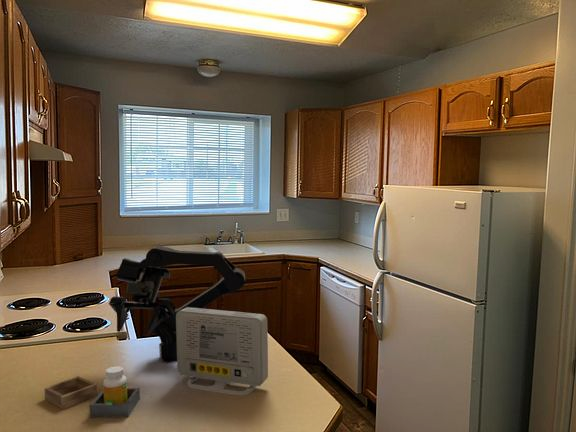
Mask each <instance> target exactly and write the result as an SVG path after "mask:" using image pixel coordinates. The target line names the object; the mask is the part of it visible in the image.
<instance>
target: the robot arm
mask: <svg viewBox="0 0 576 432" xmlns="http://www.w3.org/2000/svg"><path fill="white" fill-rule="evenodd" d="M171 265H172V266H173V265H192V266H193V265H195V266H197V265H198V266H212V267H213V266H214V267H215V268H216V270H217V271H218V273H219V274H220V275H221V278H220V280H219V281H218V282H217V283H215V285H212V286H211V287H210V288H209V289H207V290H205V291H203V292H202V293H201V294H199V295H197V296H196V297H194V298H193V299H191V300H189V301H188V302H187V303H186V302H185V304H183V305H182V306H180V307H178V308H176V306H175V305H174V303H173V301H172V299H170V298H161V297H159V295H160V292H159V289H160V287H161V284H162V281H163V279H165V278H166V279H170V276H171V275H170V274H171V272H170V270H169V268H168V267H167V266H171ZM116 280H118V281H121V282H127V286H126V287H127V288H126V291H125V294H126V295H130V298H131V300H133V301H128V300H127V298H126V297H125V296H117V295H116V296H115V295H114V296H112V297H111V298H110V300H109V301H108V302H109V303H108V305H109V306H110V307H111V308H112V310H113V311H114V312H115V313H116V332H118V333H120V332H121V331H122V329H123V327H124V325H125V323H126V321H127V319H128V317H129V312H130V310H131V309H136V310H137V309H140V310H153V311H152V316H151V317H150V321H149V324H148V326H147V330H146V334H147V335H149V334H151V333H152V332H153V331H154V332H155V333H154V334H156V335H157V336H158V338H159V339H160V343H159V344H158V346H159V347H158V348H159V357H160V359H162V361H163V362H164V363H168V362H169V363H170V362H174V361H177V337H176V314H177V312H178V311H180V310H182V309H184V308H187V307H190V308H201V309H205V307H207V306H208V305H210V304H211V303H213V302H214V301H216V300H218V299H220V298H221V297H223V296H226V295H229V294H232V293H235V292H237V291H239V290H241V289H242V288H243V287H244V286H245V282H246V274H245V271H244V270H243V269H241V268H237V267H236V266H235V265H234V264H233V263H232V262H231V261H230V260H229V259H228V258H227V257H226V256H225V255H224V254H223V253H222V252H221V251H214V252H213V251H211V252H210V251H209V252H208V251H193V250H192V251H190V250H177V249H174V248H171V247H167V246H162V245H156V246H154V247H152V248H150V249H149V250H148V251H147V253H146V255H145V258H144V259H141V260H140V261H136V260H133V259H132V260H131V259H129V258H125V257H124V258H122V260H121V263H120V265H119V268H118V269H117V272H116ZM157 297H158V298H157ZM156 298H157V299H156Z"/></svg>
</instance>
